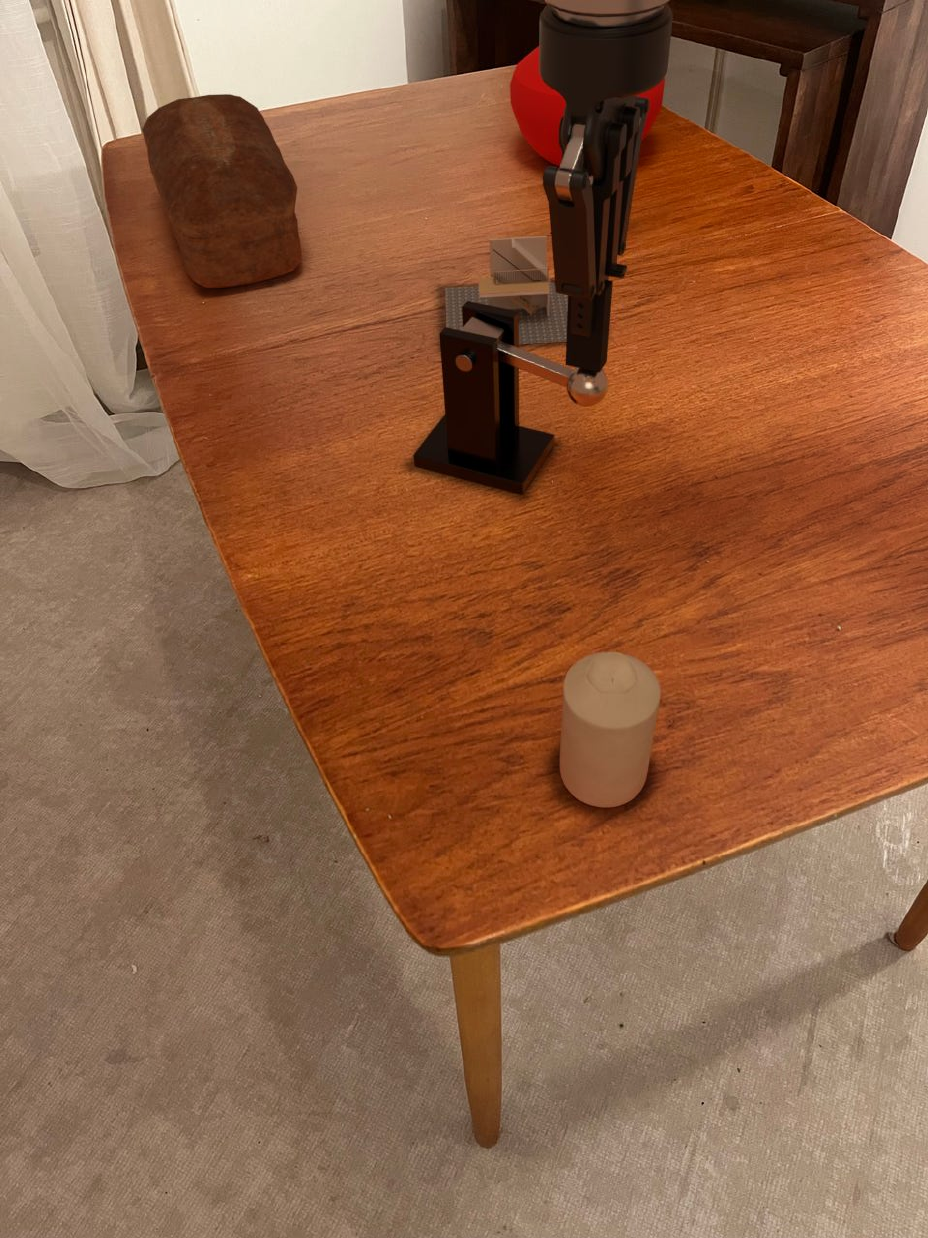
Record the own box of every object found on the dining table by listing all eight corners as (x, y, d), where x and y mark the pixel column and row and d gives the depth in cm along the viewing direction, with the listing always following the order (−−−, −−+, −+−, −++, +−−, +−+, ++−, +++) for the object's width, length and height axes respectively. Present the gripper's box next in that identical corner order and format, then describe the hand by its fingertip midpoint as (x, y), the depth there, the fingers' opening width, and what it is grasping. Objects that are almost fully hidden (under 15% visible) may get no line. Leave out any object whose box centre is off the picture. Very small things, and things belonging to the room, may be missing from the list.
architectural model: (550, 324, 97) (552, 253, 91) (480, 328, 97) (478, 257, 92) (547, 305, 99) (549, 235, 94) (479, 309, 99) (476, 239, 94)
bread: (267, 174, 123) (247, 68, 114) (319, 280, 105) (300, 164, 96) (156, 195, 120) (126, 88, 111) (190, 308, 102) (158, 191, 93)
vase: (485, 144, 126) (480, -29, 112) (606, 112, 131) (616, -57, 116) (558, 200, 115) (562, 16, 100) (688, 162, 120) (710, -18, 105)
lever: (609, 397, 76) (619, 364, 73) (594, 421, 74) (604, 387, 72) (470, 342, 78) (475, 308, 76) (452, 364, 76) (457, 329, 74)
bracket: (554, 445, 84) (557, 311, 75) (522, 495, 80) (522, 360, 71) (449, 419, 87) (440, 287, 78) (414, 465, 83) (399, 332, 74)
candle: (657, 800, 61) (676, 703, 53) (570, 815, 60) (577, 719, 53) (632, 729, 64) (647, 628, 57) (550, 742, 64) (554, 643, 56)
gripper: (584, -37, 60) (570, 309, 78) (498, 35, 53) (504, 400, 70) (704, -27, 58) (661, 328, 75) (632, 50, 50) (604, 424, 68)
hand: (586, 362), depth 73 cm, fingers closed
